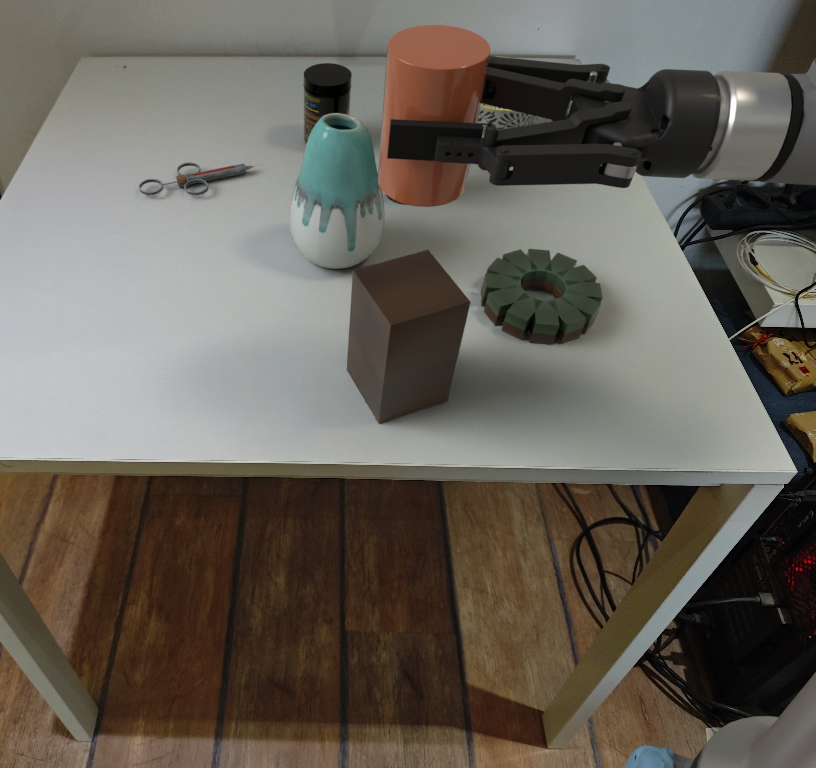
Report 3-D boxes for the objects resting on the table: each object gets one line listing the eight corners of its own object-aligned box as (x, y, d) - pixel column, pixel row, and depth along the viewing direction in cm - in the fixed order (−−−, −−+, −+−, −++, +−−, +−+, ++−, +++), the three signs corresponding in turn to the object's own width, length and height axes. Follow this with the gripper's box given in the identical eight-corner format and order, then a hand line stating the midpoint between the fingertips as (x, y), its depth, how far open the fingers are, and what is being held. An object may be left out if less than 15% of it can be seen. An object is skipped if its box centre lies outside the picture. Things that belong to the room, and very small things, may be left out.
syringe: (273, 184, 101) (272, 173, 100) (146, 210, 97) (143, 199, 96) (256, 155, 106) (256, 145, 104) (134, 179, 102) (132, 168, 100)
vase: (361, 215, 96) (370, 85, 82) (395, 269, 89) (411, 137, 75) (278, 233, 94) (273, 102, 80) (306, 289, 86) (306, 156, 73)
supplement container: (335, 159, 105) (338, 90, 97) (295, 147, 107) (294, 78, 99) (356, 137, 109) (360, 69, 101) (316, 126, 111) (317, 59, 103)
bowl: (566, 133, 109) (580, 85, 104) (494, 169, 103) (505, 120, 97) (488, 92, 118) (498, 46, 112) (417, 123, 111) (423, 75, 106)
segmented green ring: (617, 325, 82) (626, 306, 80) (520, 356, 79) (526, 337, 77) (551, 257, 90) (557, 238, 88) (460, 284, 87) (464, 264, 85)
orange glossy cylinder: (474, 205, 57) (501, 67, 49) (383, 208, 57) (394, 70, 48) (456, 156, 62) (478, 23, 53) (372, 159, 61) (382, 26, 53)
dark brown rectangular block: (447, 401, 75) (471, 301, 64) (378, 424, 73) (390, 325, 62) (412, 349, 80) (428, 249, 69) (346, 369, 78) (352, 269, 67)
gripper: (715, 252, 50) (382, 232, 51) (652, 105, 63) (389, 93, 64) (768, 155, 44) (391, 136, 46) (687, 16, 57) (396, 5, 59)
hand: (390, 111), depth 55 cm, fingers closed on orange glossy cylinder, 7 cm apart
